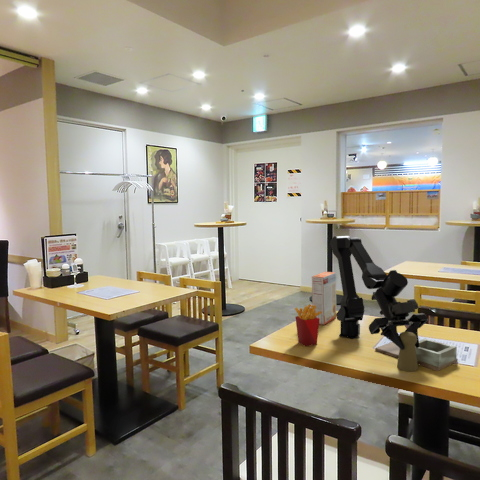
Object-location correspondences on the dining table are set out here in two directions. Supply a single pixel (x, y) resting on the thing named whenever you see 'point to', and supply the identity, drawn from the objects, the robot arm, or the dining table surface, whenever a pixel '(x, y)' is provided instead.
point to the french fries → (307, 325)
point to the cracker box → (324, 296)
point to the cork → (408, 352)
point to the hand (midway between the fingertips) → (410, 348)
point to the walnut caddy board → (426, 353)
